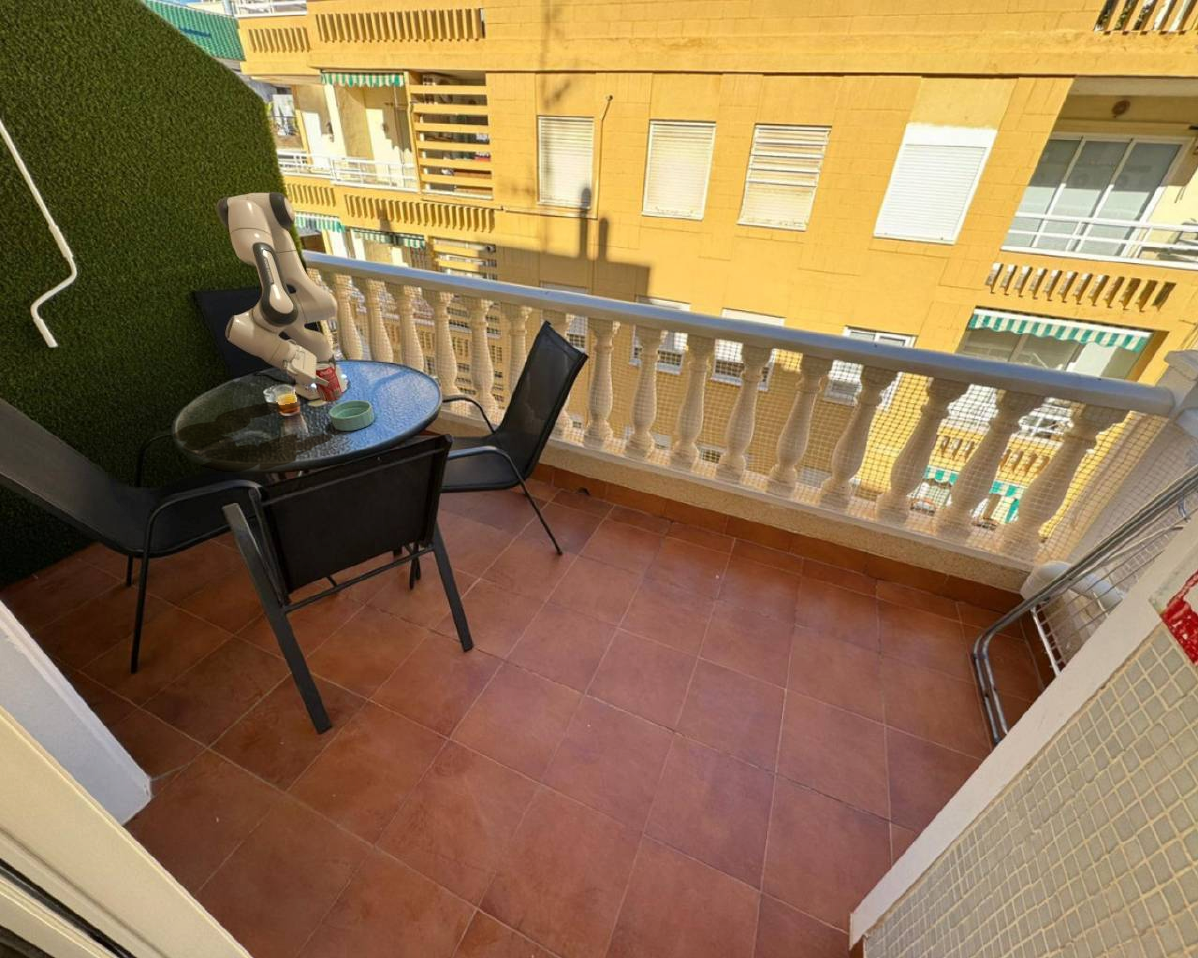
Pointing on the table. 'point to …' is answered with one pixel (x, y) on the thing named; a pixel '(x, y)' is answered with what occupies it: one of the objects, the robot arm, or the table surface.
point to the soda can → (333, 388)
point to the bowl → (352, 415)
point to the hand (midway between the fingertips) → (327, 379)
